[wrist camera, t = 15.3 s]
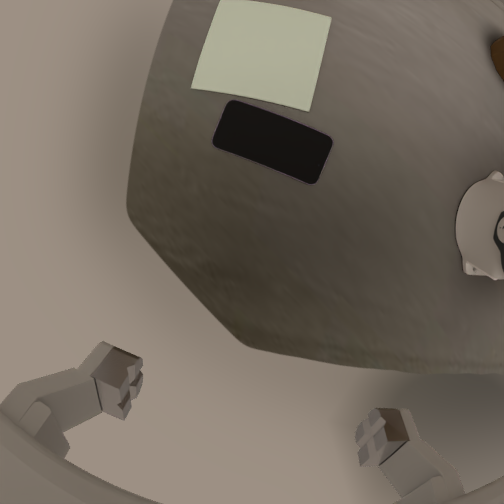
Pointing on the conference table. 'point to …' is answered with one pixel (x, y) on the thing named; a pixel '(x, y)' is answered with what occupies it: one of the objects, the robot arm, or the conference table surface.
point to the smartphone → (272, 141)
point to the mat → (263, 53)
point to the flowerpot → (498, 55)
